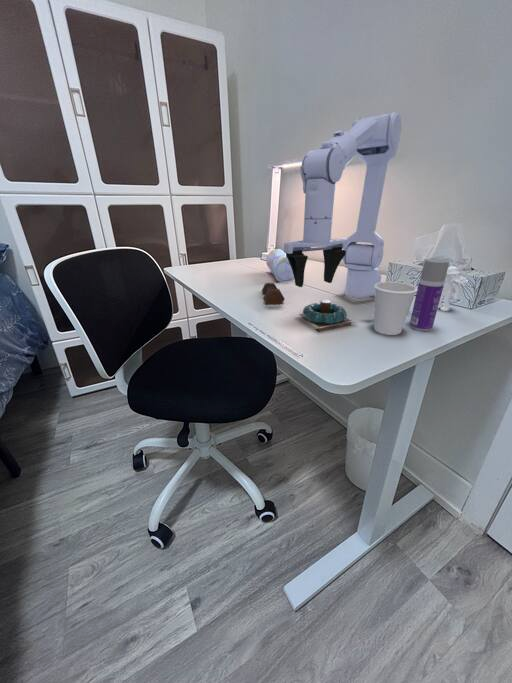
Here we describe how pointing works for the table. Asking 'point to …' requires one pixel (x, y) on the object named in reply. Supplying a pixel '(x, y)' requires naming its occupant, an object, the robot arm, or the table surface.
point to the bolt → (272, 294)
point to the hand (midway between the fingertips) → (313, 283)
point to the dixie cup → (392, 306)
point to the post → (325, 308)
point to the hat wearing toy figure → (451, 286)
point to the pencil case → (280, 266)
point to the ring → (324, 314)
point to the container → (428, 294)
